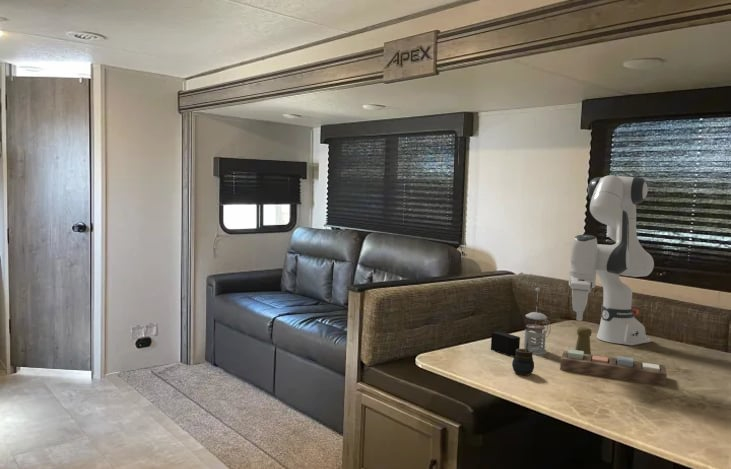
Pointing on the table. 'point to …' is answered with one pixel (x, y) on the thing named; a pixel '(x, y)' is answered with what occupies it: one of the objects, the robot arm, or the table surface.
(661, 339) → the table surface
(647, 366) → the cream key
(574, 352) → the sage key
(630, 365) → the slate key
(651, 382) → the key frame
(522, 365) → the mate gourd
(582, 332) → the cork
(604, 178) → the robot arm
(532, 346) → the french press
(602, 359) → the terracotta key
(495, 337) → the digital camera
